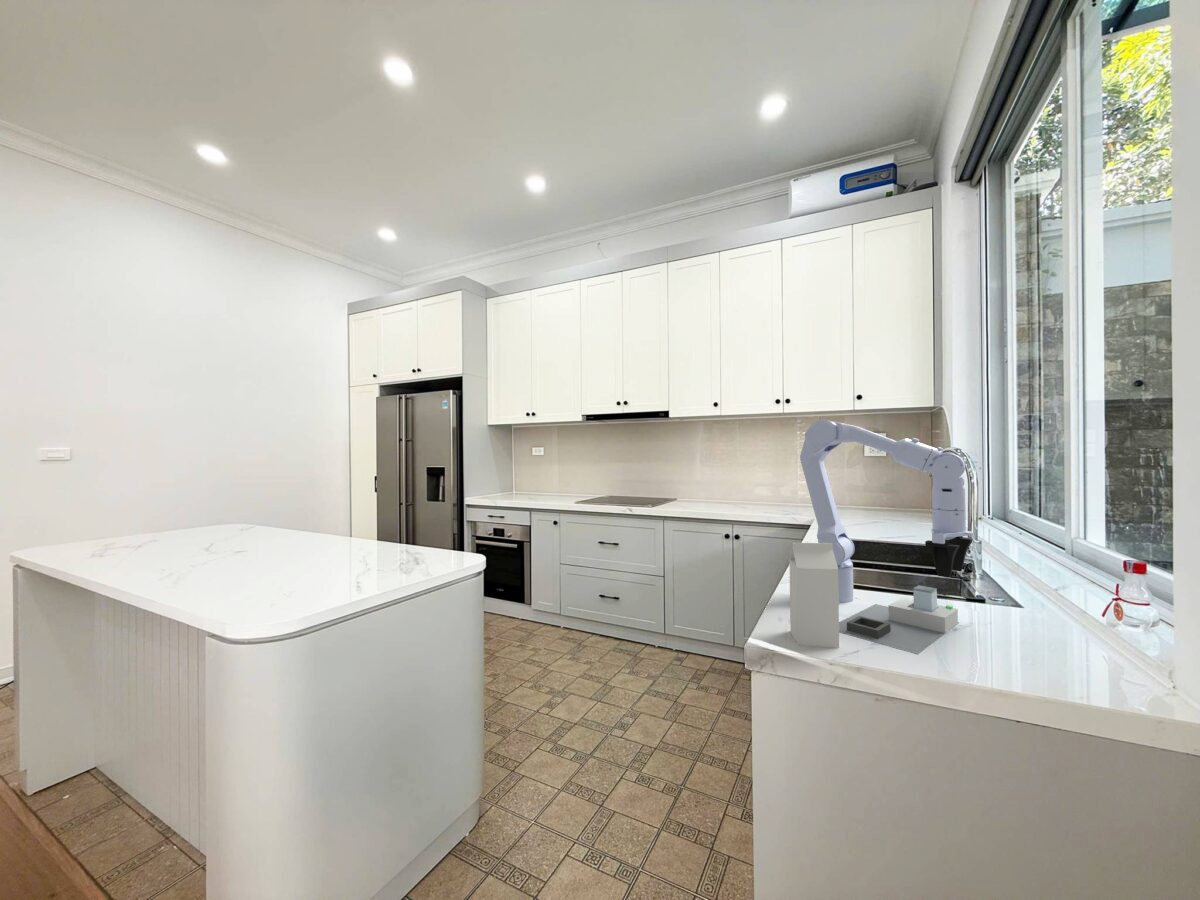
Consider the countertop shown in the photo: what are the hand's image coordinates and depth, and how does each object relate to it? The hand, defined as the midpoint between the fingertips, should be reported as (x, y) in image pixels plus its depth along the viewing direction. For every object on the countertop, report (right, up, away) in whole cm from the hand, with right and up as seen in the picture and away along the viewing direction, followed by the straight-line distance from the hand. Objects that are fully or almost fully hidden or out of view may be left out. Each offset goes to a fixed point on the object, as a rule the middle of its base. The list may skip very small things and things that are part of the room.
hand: (949, 573), depth 100 cm
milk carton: (-34, -11, -11) cm, 37 cm away
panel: (-15, -10, -4) cm, 18 cm away
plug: (-7, -10, -2) cm, 12 cm away
